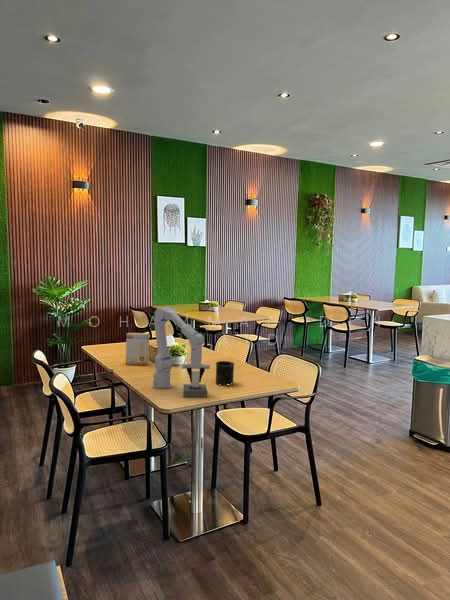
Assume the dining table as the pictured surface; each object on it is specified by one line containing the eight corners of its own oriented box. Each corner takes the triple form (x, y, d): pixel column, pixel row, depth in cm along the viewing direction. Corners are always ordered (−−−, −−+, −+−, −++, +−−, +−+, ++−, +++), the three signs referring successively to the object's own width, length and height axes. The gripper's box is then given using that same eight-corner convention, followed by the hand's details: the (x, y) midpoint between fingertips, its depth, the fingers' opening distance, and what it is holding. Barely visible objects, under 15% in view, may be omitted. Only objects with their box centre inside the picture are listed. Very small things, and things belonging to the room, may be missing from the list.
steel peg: (191, 387, 235) (191, 372, 235) (191, 385, 239) (191, 371, 239) (199, 387, 236) (199, 373, 235) (198, 385, 240) (199, 371, 239)
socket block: (183, 397, 231) (183, 390, 231) (183, 390, 243) (183, 384, 243) (206, 397, 232) (207, 390, 232) (205, 390, 244) (205, 384, 244)
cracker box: (148, 364, 300) (149, 333, 298) (146, 366, 294) (147, 334, 292) (128, 362, 301) (128, 332, 299) (125, 364, 295) (126, 333, 293)
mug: (220, 387, 252) (221, 366, 251) (208, 380, 265) (209, 360, 264) (237, 385, 258) (238, 364, 257) (224, 378, 270) (225, 359, 269)
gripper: (182, 358, 231) (181, 384, 232) (210, 358, 233) (209, 384, 234) (182, 355, 238) (181, 380, 239) (209, 355, 240) (208, 380, 241)
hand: (195, 382), depth 237 cm, fingers closed on steel peg, 4 cm apart
